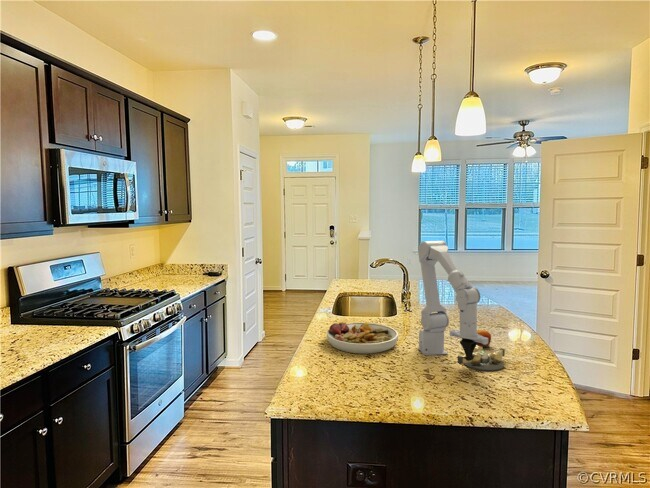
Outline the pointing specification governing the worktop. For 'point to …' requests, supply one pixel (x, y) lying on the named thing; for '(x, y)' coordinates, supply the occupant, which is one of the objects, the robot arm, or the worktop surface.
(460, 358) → the knob left
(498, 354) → the knob right
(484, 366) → the level plate
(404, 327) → the worktop surface
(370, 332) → the bowl
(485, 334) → the fruit
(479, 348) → the knob back
